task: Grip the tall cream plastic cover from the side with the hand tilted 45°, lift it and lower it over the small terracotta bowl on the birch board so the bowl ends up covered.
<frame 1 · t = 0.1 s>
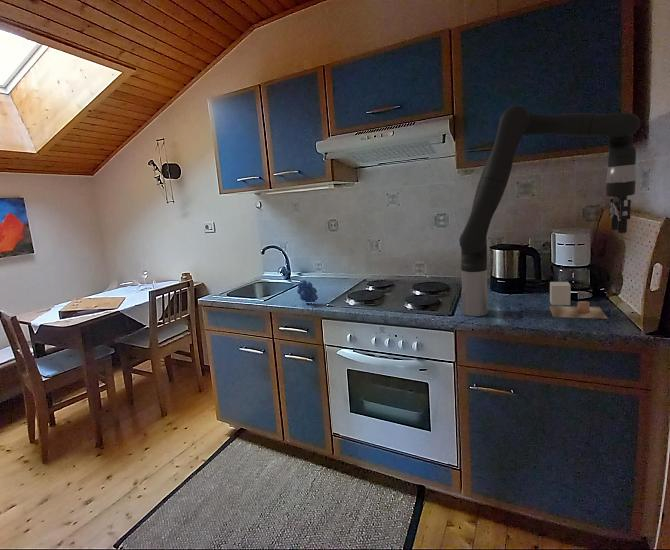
hand: (618, 231, 126), 29 cm above the countertop, tool pointing down, fingers open, 8 cm apart
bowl: (583, 312, 136), point 1 cm above the countertop, touching board
cover: (559, 305, 149), on the countertop
grapes: (307, 305, 186), on the countertop
board: (576, 314, 137), on the countertop
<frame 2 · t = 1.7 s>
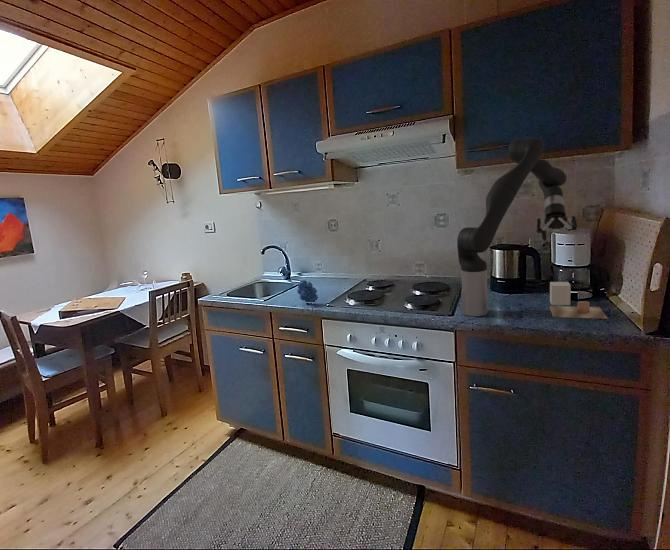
hand: (557, 239, 155), 24 cm above the countertop, tool tilted 45°, fingers open, 8 cm apart
nothing on the countertop moved.
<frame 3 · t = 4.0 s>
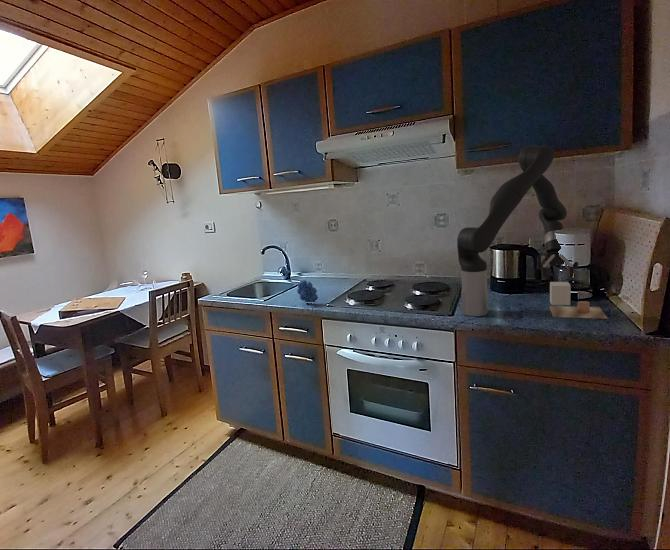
hand: (558, 277, 152), 10 cm above the countertop, tool tilted 45°, fingers open, 8 cm apart
nothing on the countertop moved.
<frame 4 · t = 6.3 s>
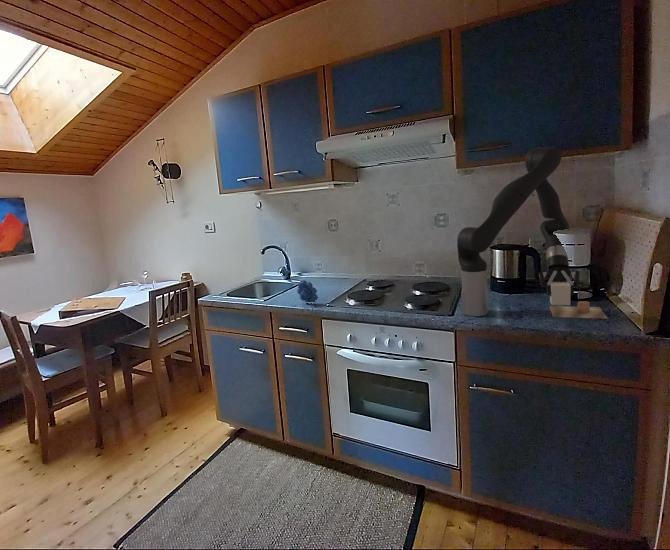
hand: (560, 295, 147), 4 cm above the countertop, tool tilted 45°, fingers closed on cover, 6 cm apart
cover: (559, 305, 149), on the countertop, touching gripper
everything else where it was.
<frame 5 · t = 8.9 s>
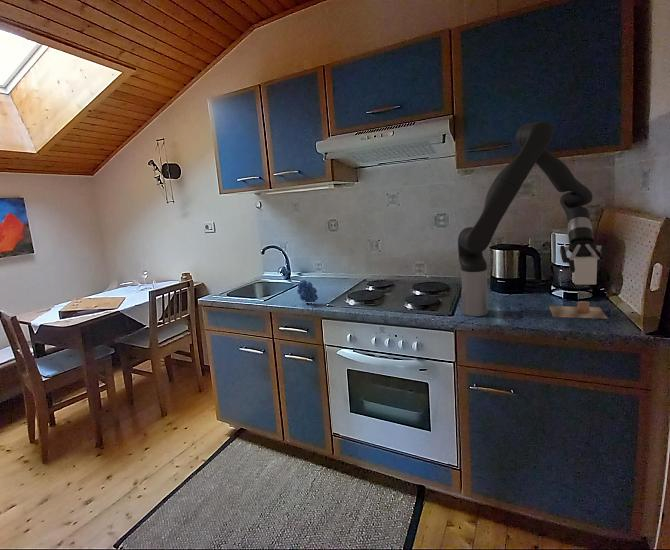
hand: (585, 271, 132), 16 cm above the countertop, tool tilted 45°, fingers closed on cover, 6 cm apart
cover: (583, 282, 134), point 12 cm above the countertop, touching gripper
everything else where it was.
when the fingers open (7 cm above the countertop, at t = 11.6 s): cover drops 1 cm, resting on board.
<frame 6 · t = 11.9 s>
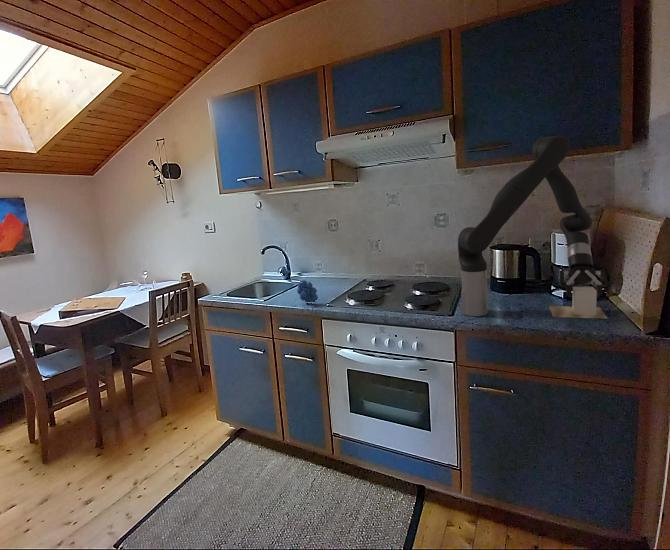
hand: (584, 296, 134), 7 cm above the countertop, tool tilted 45°, fingers open, 8 cm apart
cover: (583, 311, 136), point 1 cm above the countertop, touching board
everything else where it was.
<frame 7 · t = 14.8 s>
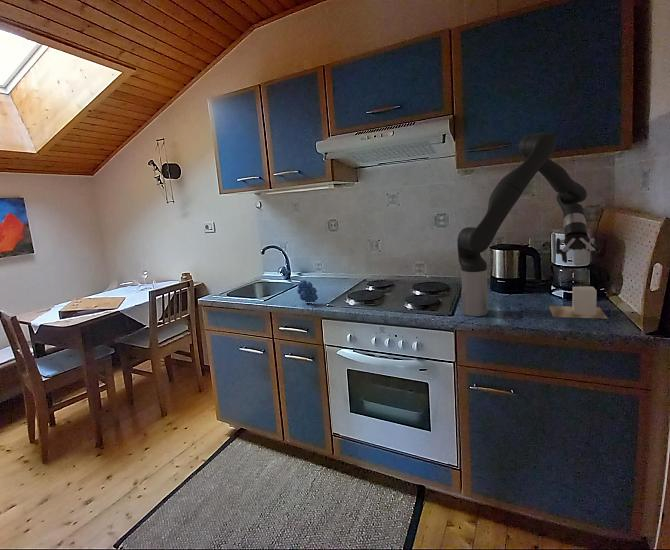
hand: (579, 261, 143), 17 cm above the countertop, tool tilted 45°, fingers open, 8 cm apart
nothing on the countertop moved.
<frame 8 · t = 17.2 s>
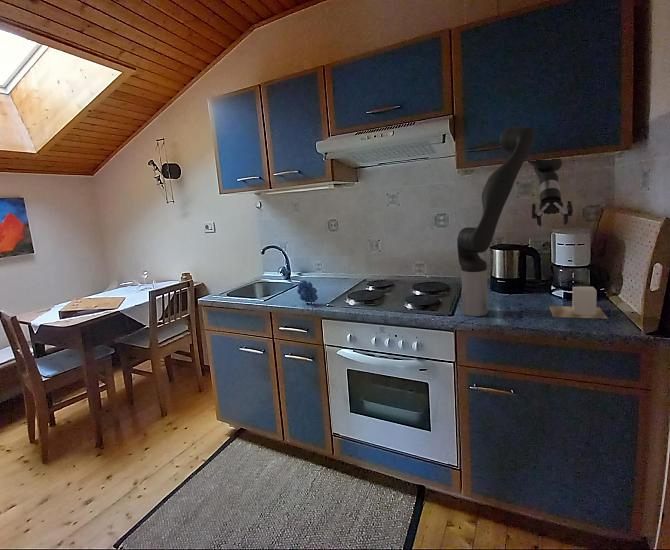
hand: (552, 224, 151), 31 cm above the countertop, tool tilted 45°, fingers open, 8 cm apart
nothing on the countertop moved.
at the end: cover 0.2 cm from the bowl (horizontally); cover tilted 0°; cover point 1.0 cm above the countertop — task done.
